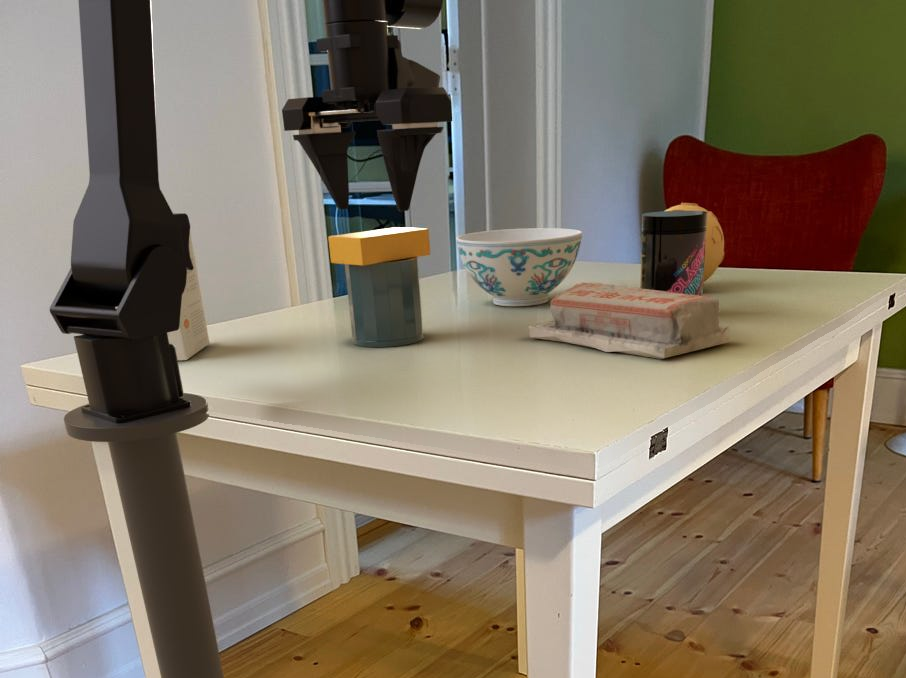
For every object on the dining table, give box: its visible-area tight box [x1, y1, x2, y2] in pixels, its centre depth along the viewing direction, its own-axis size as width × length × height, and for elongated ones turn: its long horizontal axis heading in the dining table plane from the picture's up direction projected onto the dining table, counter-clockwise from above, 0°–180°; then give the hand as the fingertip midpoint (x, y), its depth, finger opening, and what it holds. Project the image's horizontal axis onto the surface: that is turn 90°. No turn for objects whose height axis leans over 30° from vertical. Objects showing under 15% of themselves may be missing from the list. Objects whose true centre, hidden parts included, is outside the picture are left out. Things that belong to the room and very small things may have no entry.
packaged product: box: [528, 282, 731, 360], centre depth 96 cm, size 18×5×10 cm
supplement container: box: [639, 210, 707, 296], centre depth 105 cm, size 7×7×10 cm
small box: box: [115, 232, 211, 361], centre depth 99 cm, size 8×6×13 cm
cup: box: [344, 257, 424, 348], centre depth 101 cm, size 7×7×8 cm
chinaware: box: [455, 227, 583, 307], centre depth 120 cm, size 15×15×8 cm
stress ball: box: [664, 202, 725, 284], centre depth 122 cm, size 10×10×10 cm
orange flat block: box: [327, 226, 431, 266], centre depth 99 cm, size 9×5×2 cm, turn 136°
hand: (372, 210), depth 97 cm, fingers open, 9 cm apart
